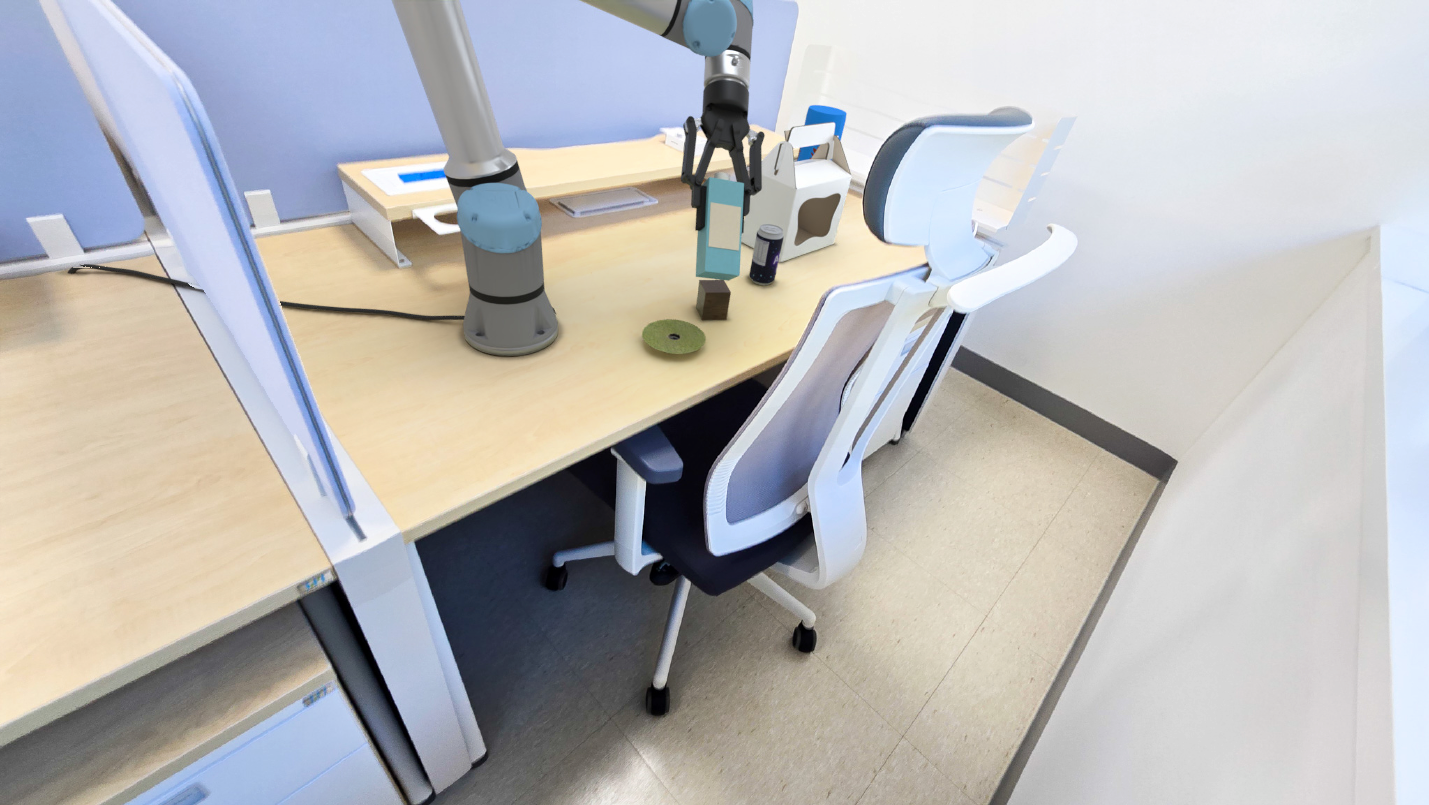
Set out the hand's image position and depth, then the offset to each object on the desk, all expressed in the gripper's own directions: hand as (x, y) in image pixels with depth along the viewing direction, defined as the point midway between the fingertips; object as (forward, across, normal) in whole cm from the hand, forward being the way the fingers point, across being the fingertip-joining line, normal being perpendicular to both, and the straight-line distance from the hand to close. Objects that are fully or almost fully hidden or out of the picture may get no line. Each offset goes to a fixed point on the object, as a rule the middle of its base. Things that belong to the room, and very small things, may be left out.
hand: (719, 231), depth 95 cm
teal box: (+5, 0, +5) cm, 7 cm away
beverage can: (+2, +20, +27) cm, 34 cm away
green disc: (+19, -4, +10) cm, 21 cm away
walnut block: (+11, +5, +17) cm, 21 cm away
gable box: (-12, +33, +42) cm, 55 cm away
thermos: (-32, +50, +66) cm, 89 cm away
